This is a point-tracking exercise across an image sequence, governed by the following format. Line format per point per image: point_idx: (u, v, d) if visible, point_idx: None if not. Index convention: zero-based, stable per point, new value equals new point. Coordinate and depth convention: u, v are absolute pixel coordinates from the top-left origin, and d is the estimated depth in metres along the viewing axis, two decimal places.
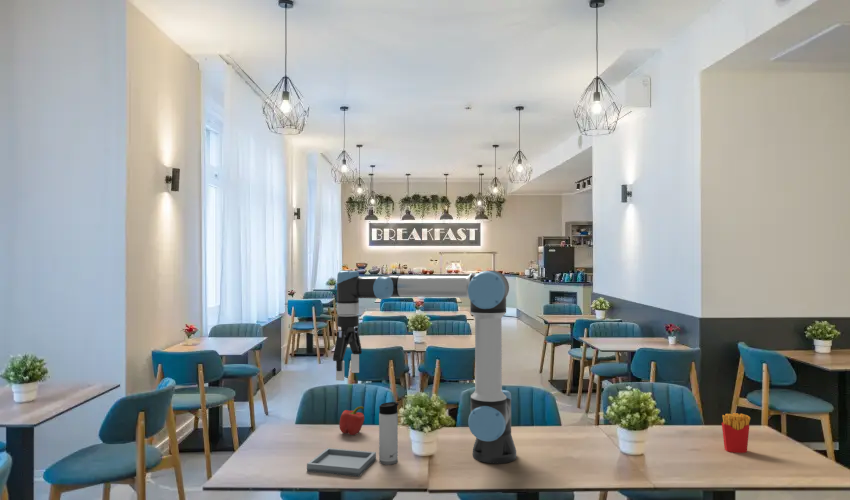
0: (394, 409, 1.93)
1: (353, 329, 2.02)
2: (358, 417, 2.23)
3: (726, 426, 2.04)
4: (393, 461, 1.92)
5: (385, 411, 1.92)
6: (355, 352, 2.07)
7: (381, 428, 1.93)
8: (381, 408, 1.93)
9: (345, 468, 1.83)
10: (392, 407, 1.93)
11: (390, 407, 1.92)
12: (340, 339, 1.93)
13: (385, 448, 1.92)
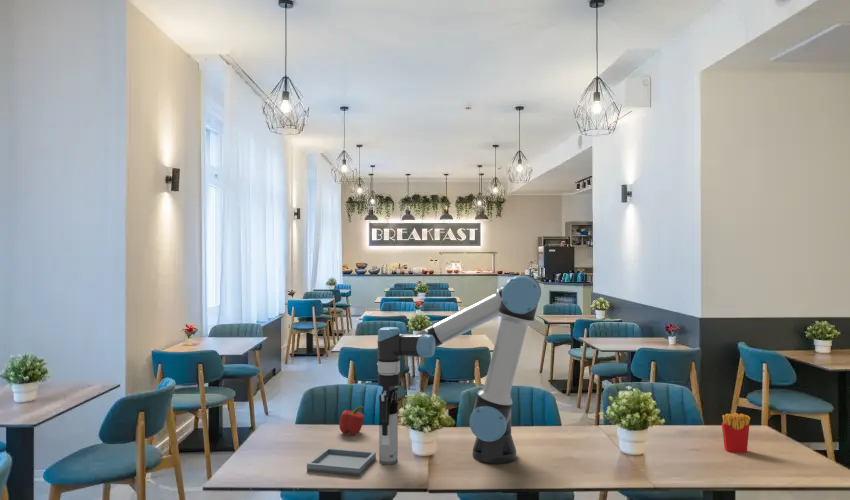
0: (394, 409, 1.93)
1: (394, 386, 1.98)
2: (358, 417, 2.23)
3: (726, 426, 2.04)
4: (393, 461, 1.92)
5: None
6: None
7: None
8: None
9: (345, 468, 1.83)
10: (392, 407, 1.93)
11: (390, 407, 1.92)
12: (383, 403, 1.89)
13: (385, 448, 1.92)
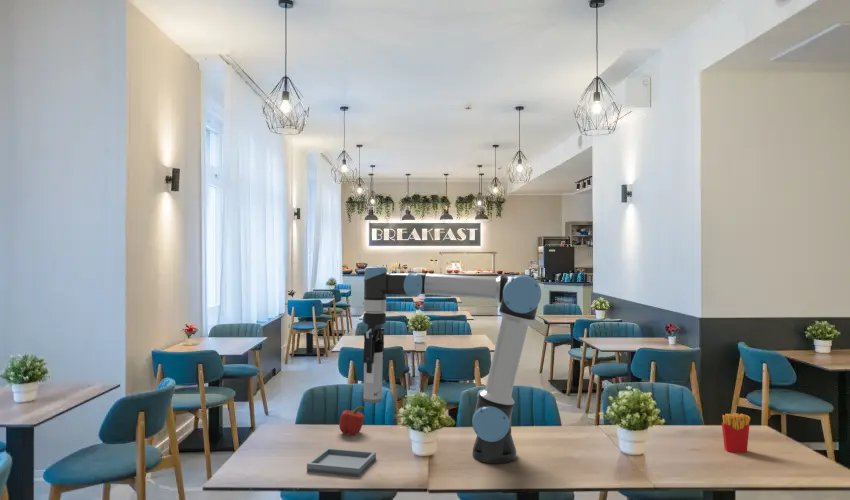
0: (379, 348, 1.93)
1: (380, 326, 1.97)
2: (358, 417, 2.23)
3: (726, 426, 2.04)
4: (377, 399, 1.92)
5: None
6: None
7: None
8: None
9: (345, 468, 1.83)
10: (377, 345, 1.92)
11: (375, 345, 1.92)
12: (368, 341, 1.89)
13: (369, 386, 1.92)
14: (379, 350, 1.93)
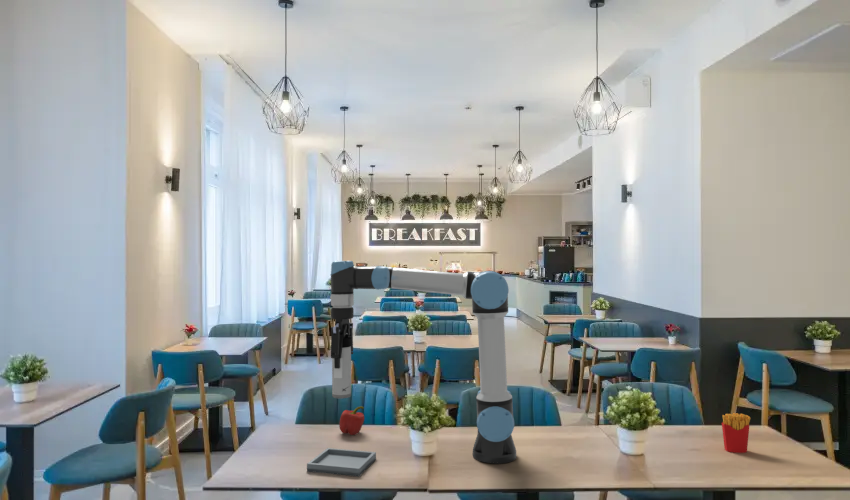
0: (347, 342, 1.90)
1: (348, 321, 1.95)
2: (358, 417, 2.23)
3: (726, 426, 2.04)
4: (346, 395, 1.90)
5: None
6: None
7: None
8: None
9: (345, 468, 1.83)
10: (345, 340, 1.90)
11: (343, 340, 1.89)
12: (335, 335, 1.86)
13: (338, 382, 1.89)
14: (347, 345, 1.90)
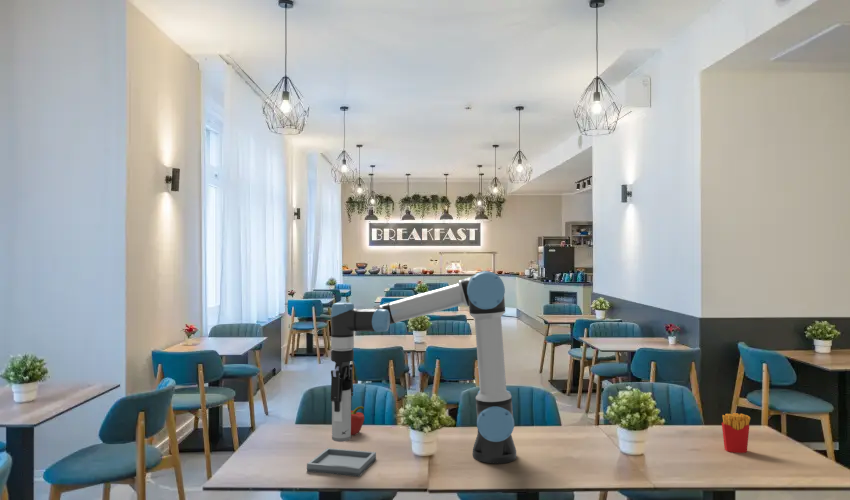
0: (347, 385, 1.90)
1: (348, 362, 1.94)
2: (358, 417, 2.23)
3: (726, 426, 2.04)
4: (345, 438, 1.89)
5: None
6: None
7: (333, 404, 1.90)
8: None
9: (345, 468, 1.83)
10: (345, 383, 1.90)
11: (343, 383, 1.89)
12: (335, 379, 1.86)
13: (337, 425, 1.89)
14: (347, 388, 1.90)
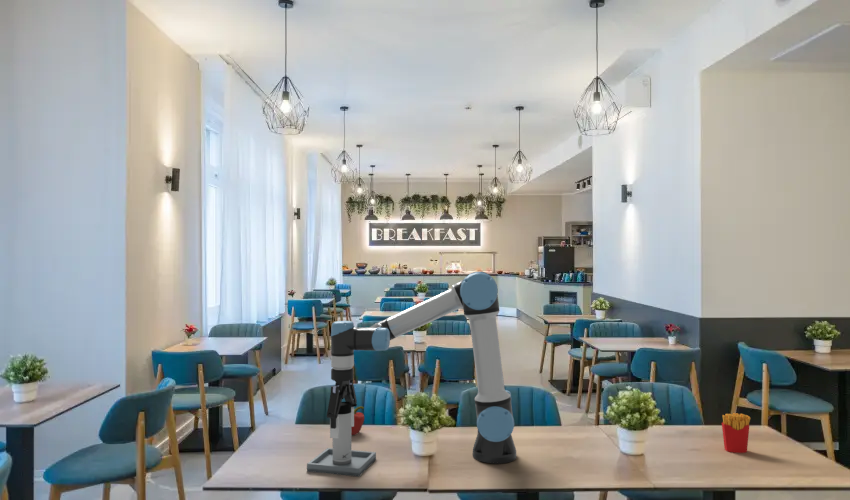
0: (347, 409, 1.90)
1: (348, 382, 1.94)
2: (358, 417, 2.23)
3: (726, 426, 2.04)
4: (346, 461, 1.89)
5: None
6: None
7: None
8: None
9: (345, 468, 1.83)
10: (345, 407, 1.89)
11: (343, 407, 1.89)
12: (334, 395, 1.85)
13: (338, 449, 1.89)
14: (347, 411, 1.90)
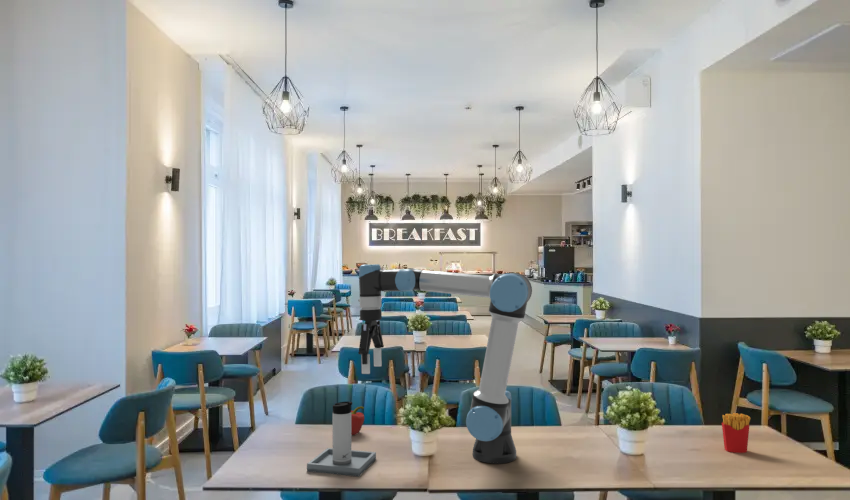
0: (347, 409, 1.90)
1: (376, 322, 2.02)
2: (358, 417, 2.23)
3: (726, 426, 2.04)
4: (346, 461, 1.89)
5: (338, 411, 1.89)
6: (377, 346, 2.07)
7: (334, 428, 1.90)
8: (334, 408, 1.90)
9: (345, 468, 1.83)
10: (345, 406, 1.89)
11: (343, 406, 1.89)
12: (365, 332, 1.93)
13: (338, 449, 1.89)
14: (347, 411, 1.90)
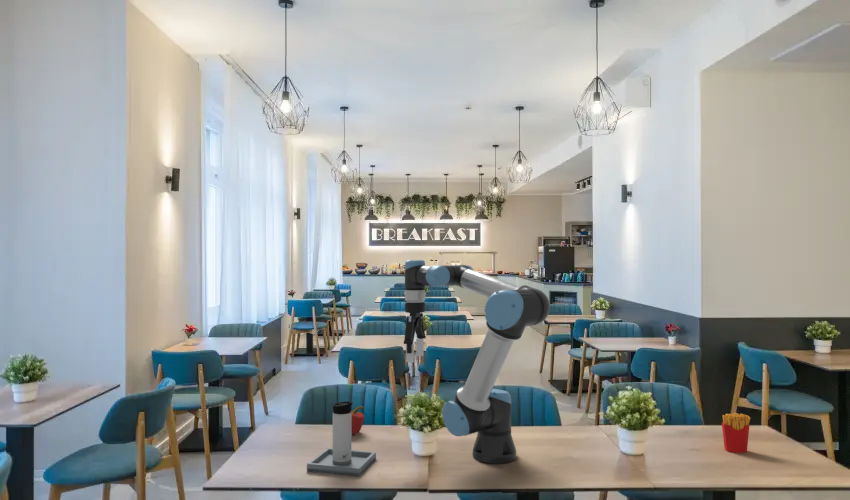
0: (347, 409, 1.90)
1: (419, 315, 2.15)
2: (358, 417, 2.23)
3: (726, 426, 2.04)
4: (346, 461, 1.89)
5: (338, 411, 1.89)
6: (420, 337, 2.20)
7: (334, 428, 1.90)
8: (334, 408, 1.90)
9: (345, 468, 1.83)
10: (345, 406, 1.89)
11: (343, 406, 1.89)
12: (410, 323, 2.06)
13: (338, 449, 1.89)
14: (347, 411, 1.90)
